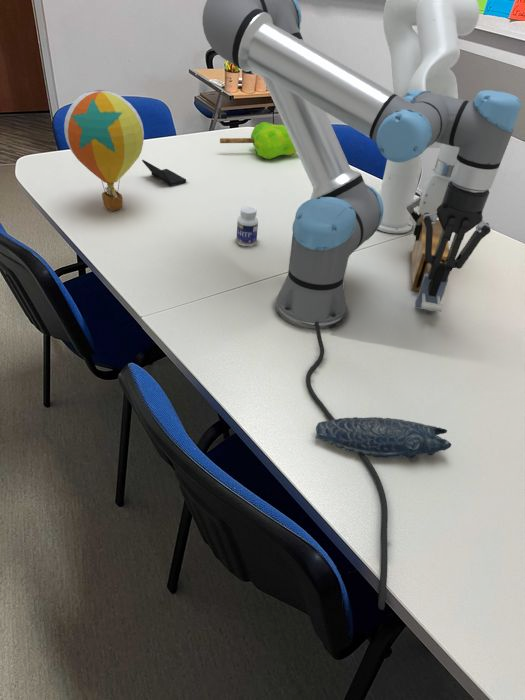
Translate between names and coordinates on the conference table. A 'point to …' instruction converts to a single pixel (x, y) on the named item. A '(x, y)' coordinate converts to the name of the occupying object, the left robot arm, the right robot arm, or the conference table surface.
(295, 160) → the conference table surface
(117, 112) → the toy
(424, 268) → the drawer
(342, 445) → the fish model
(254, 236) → the pill bottle
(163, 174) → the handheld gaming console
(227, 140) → the decorative tree
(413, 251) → the tan wooden box
